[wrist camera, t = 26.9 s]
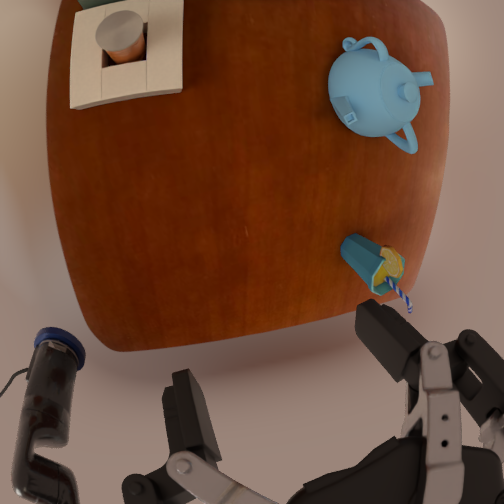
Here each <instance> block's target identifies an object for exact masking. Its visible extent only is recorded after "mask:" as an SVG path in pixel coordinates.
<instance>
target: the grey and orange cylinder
mask: <svg viewBox="0 0 504 504" xmlns="http://www.w3.org/2000/svg"><path fill="white" fill-rule="evenodd" d="M95 39H96V43H97V44H98V46H99V47H100V48H102V49H103V50H105V51H106V52H107V53H108V55H109V56H110V57H111V58H112V60H113V61H114V62H115V63H116V64H117V65H120V64H126V63H132V62H138V61H141V60H142V59H143V57H144V56H145V53H146V44H145V40H144V35H143V20H142V18H141V16H140V15H139V14H137V13H136V12H133V11H129V10H123V11H118V12H115V13H112V14H110V15H109V16H107V17H106V18H105V19H104V20H103V21H102V22H101V23H100V24H99V26H98V28H97V30H96V33H95Z"/></svg>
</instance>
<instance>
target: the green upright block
mask: <svg viewBox="0 0 504 504" xmlns="http://www.w3.org/2000/svg"><path fill="white" fill-rule="evenodd" d="M120 1H125V0H78V2H79V3H80V4H81V6H82V7H83V9H84V10H86V9H90V8H94V7H98V6H102V5H107V4H110V3H115V2H120Z"/></svg>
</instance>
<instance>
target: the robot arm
mask: <svg viewBox="0 0 504 504" xmlns="http://www.w3.org/2000/svg"><path fill="white" fill-rule="evenodd" d="M355 331H356V334H357V336H358V337H359V339H360V340H361V341H362V342H363V343H364V344H365V346H366V347H367V348H368V349H369V350H370V352H371V353H372V354H373V355H374V356H375V357H376V359H377V360H378V361H379V362H380V363H381V365H382V366H383V367H384V368H385V369H386V370H387V371H388V373H389V374H390V375H391V376H392V378H393V379H394V380H395V381H396V382H397V383H398V382H399V381H401V380H402V379H405V380H406V381H407V382H406V404H405V407H406V408H405V419H404V423H403V426H402V430H401V438H399V439H396V437H395V436H393V437H392V438H390V439H389V440H387V441H386V442H384V443H383V444H381V445H379V446H378V447H376V448H375V449H373V450H372V451H371V452H370V453H369V454H368V455H367V456H366V457H365V458H364V459H363V460H362V461H361V462H359V463H358V464H357V465H356V466H354V467H351V468H348V469H344V470H340V471H336V472H332V473H328V474H325V475H323V476H321V477H319V478H316V479H314V480H312V481H309V482H307V483H305V484H303V488H302V489H300V490H299V491H297V492H296V493H295V494H294V495H293V496H292V497H291V498H290V499H289V501H288V502H287V504H504V479H503V473H502V463H503V462H504V360H503V359H502V358H501V357H500V356H499V354H498V353H497V352H496V351H495V350H494V349H493V348H492V347H491V346H490V345H489V344H488V343H487V342H486V341H485V340H484V339H483V338H482V337H481V336H480V335H479V334H478V333H477V332H475V331H473V330H470V329H469V330H468V329H467V330H463V331H462V332H461V333H460V334H459V337H458V339H457V340H454V341H451V342H448V343H445V344H442V343H440V342H437V341H430V342H429V341H428V340H426V339H425V338H424V337H423V336H422V335H421V334H420V333H419V332H418V331H417V330H416V329H415V328H414V327H413V326H412V325H411V324H410V323H409V322H406V320H405V319H404V318H403V317H402V316H400V314H399V313H397V311H395V309H393V308H391V307H389V306H387V305H385V304H383V305H382V306H381V305H379V304H378V303H377V302H376V301H375V300H374V299H369V300H367V301H365V302H363V303H361V304H359V305H357V310H356V320H355ZM78 364H79V357H78V355H77V353H76V351H75V350H74V349H73V348H72V347H71V346H70V345H68V344H67V343H65V342H63V341H61V340H59V339H55V338H46V339H44V340H42V341H41V342H40V344H39V345H36V347H35V350H34V353H33V356H32V359H31V362H30V366H29V368H25V369H22V370H20V371H18V372H16V373H15V374H13V375H12V377H11V378H10V380H9V382H8V383H7V385H6V386H5V388H4V389H3V390H2V392H1V393H0V397H1V396H2V395H3V393H4V392H5V391H6V390H7V388H8V386H9V385H10V384H11V382H12V381H13V379H14V378H15V377H16V376H17V375H19V374H21V373H24V372H27V371H28V372H27V375H26V381H27V382H28V385H27V389H26V393H25V397H24V401H23V406H22V411H21V416H20V421H19V427H18V434H17V440H16V446H15V452H14V457H13V463H12V471H11V481H12V487H13V489H14V491H15V493H16V494H17V495H18V496H19V497H21V498H23V499H25V500H28V501H30V502H33V503H36V504H80V500H79V492H78V486H77V481H76V478H75V475H74V473H73V472H72V470H71V469H70V468H68V467H66V466H64V465H62V464H60V463H58V462H54V461H52V460H50V459H48V458H45V457H43V456H41V455H38V454H36V453H35V452H34V448H38V447H49V448H62V447H65V446H66V445H67V444H68V441H69V427H70V416H71V407H72V398H73V391H74V384H75V378H76V372H77V368H78ZM469 366H470V368H471V369H472V370H473V371H474V372H475V373H476V374H477V375H478V377H479V378H480V379H481V381H482V383H481V382H480V381H479V380H478V379H477V378H476V376H475V375H474V374H473V373H472V372H471V371H470V370H469ZM172 379H173V386H169V387H166V388H165V390H164V393H163V396H162V403H163V409H164V418H165V425H166V431H167V437H168V443H169V449H170V454H169V458H168V460H167V462H166V463H165V464H164V465H163V466H162V467H161V468H159V469H157V470H155V471H153V472H151V473H149V474H147V475H145V476H144V475H141V474H131V475H129V476H127V477H126V478H125V479H124V481H123V483H122V493H123V498H124V502H125V504H186V503H188V502H190V501H192V500H194V499H196V498H198V499H199V500H201V501H202V502H204V503H205V504H279V503H277V502H274V501H272V500H270V499H268V498H266V497H264V496H262V495H261V494H259V493H257V492H255V491H253V490H251V489H249V488H248V487H246V486H244V485H242V484H240V483H238V482H236V481H235V480H233V479H232V478H230V477H228V476H227V475H225V474H223V473H222V472H220V471H219V470H218V467H217V464H216V462H218V461H221V460H222V458H221V455H220V451H219V448H218V445H217V441H216V438H215V434H214V431H213V428H212V424H211V420H210V417H209V413H208V409H207V406H206V402H205V398H204V395H203V392H202V390H201V388H200V386H199V384H198V383H197V381H196V379H195V378H194V376H193V374H192V373H191V371H190V370H189V369H185V370H181V371H178V372H174V373H172ZM460 402H461V403H462V404H463V406H464V407H465V408H466V410H467V411H468V412H469V413H470V415H471V416H472V417H473V419H474V420H475V421H476V423H477V424H478V425H479V427H480V435H479V441H480V442H482V443H483V448H479V447H471V446H463V445H462V430H461V409H460Z"/></svg>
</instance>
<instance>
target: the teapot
mask: <svg viewBox="0 0 504 504" xmlns="http://www.w3.org/2000/svg"><path fill="white" fill-rule="evenodd" d="M368 43H372V44H373V45H374V46H375V48H376V49H377V51H376V50H371V49H361V48H362V47H364V46H365V45H366V44H368ZM343 48H344V50H345V51H347V52H345V53H343V54H342V55H340V56H339V57H338V58H337V59H336V61H335V62H334V63H333V65H332V67H331V70H330V73H329V79H328V90H329V96H330V101H331V103H332V105H333V108H334V110H335V112H336V114H337V115H338V117H339V118H340V120H341V121H342V122H343V123H344V124H345V125H346V126H347V127H348V128H349V129H351V130H352V131H354V132H355V133H357V134H359V135H362V136H368V137H380V136H386V137H387V138H388V139H389V140H390V141H392V142H393V143H394V144H395V145H397V146H398V147H399V148H400V149H402V150H403V151H405V152H407V153H410V154H413V153H416V152H417V150H418V143H417V139H416V136H415V133H414V131H413V128H412V126H411V124H410V121H411V120H412V119H413V118H414V117H415V116H416V114H417V112H418V110H419V106H420V91H419V87H420V86H428V85H434V84H433V80H432V76H431V73H430V72H414V73H411V71H410V70H409V69H408V68H407V67H406V66H405V65H403V64H402V63H401V62H399V61H398V60H396V59H395V58H393V57H391V56H389V55H388V51H387V49H386V47H385V45H384V44H383V43H382V42H381V41H380V40H379V39H377V38H375V37H366V38H363V39H361V40H360V41H358V42H357V41H356V40H355V39H354V38H350V37H348V38H345V39H344V40H343ZM401 128H403V130H404V133H405V135H406V138H407V140H404V139H403V138H401V137H399V136H398V135H397V134H395V133H394V132H397V131H398V130H400V129H401Z"/></svg>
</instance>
